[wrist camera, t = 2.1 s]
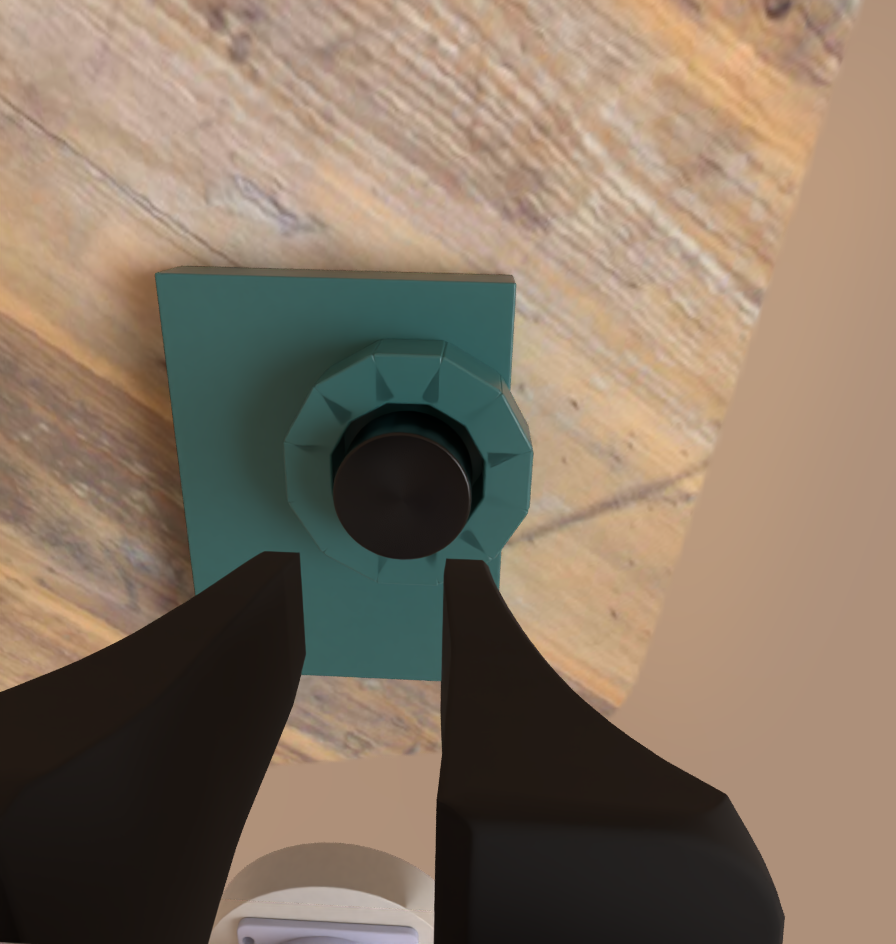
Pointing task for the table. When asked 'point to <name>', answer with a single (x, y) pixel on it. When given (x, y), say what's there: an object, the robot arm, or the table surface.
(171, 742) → the robot arm
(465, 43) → the table surface
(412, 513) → the button
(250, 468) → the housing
